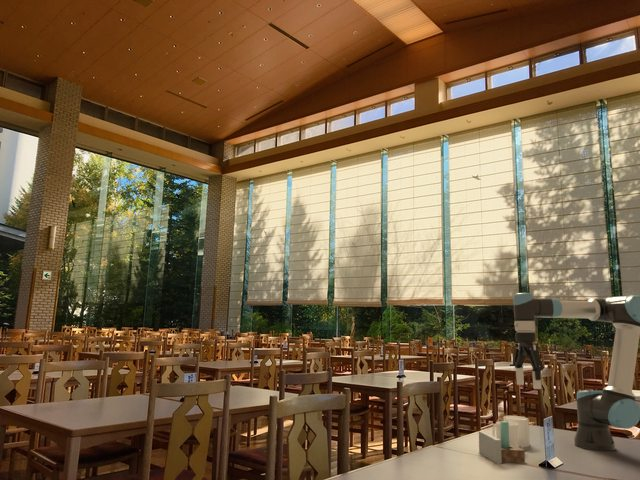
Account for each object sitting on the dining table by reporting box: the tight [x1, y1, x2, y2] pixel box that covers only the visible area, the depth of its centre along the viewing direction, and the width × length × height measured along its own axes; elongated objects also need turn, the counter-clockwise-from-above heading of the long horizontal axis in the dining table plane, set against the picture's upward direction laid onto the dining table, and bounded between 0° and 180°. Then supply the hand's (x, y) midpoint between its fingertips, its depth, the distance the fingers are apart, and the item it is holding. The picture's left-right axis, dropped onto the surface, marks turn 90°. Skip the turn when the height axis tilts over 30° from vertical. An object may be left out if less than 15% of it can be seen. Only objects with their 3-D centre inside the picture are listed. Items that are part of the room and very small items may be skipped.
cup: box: [492, 421, 518, 447], centre depth 208 cm, size 8×12×10 cm
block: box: [501, 444, 526, 463], centre depth 191 cm, size 10×10×4 cm
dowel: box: [499, 420, 509, 448], centre depth 192 cm, size 3×3×13 cm
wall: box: [478, 430, 503, 465], centre depth 191 cm, size 2×16×8 cm, turn 4°
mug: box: [503, 415, 531, 448], centre depth 219 cm, size 14×10×11 cm
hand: (528, 386), depth 201 cm, fingers open, 13 cm apart
